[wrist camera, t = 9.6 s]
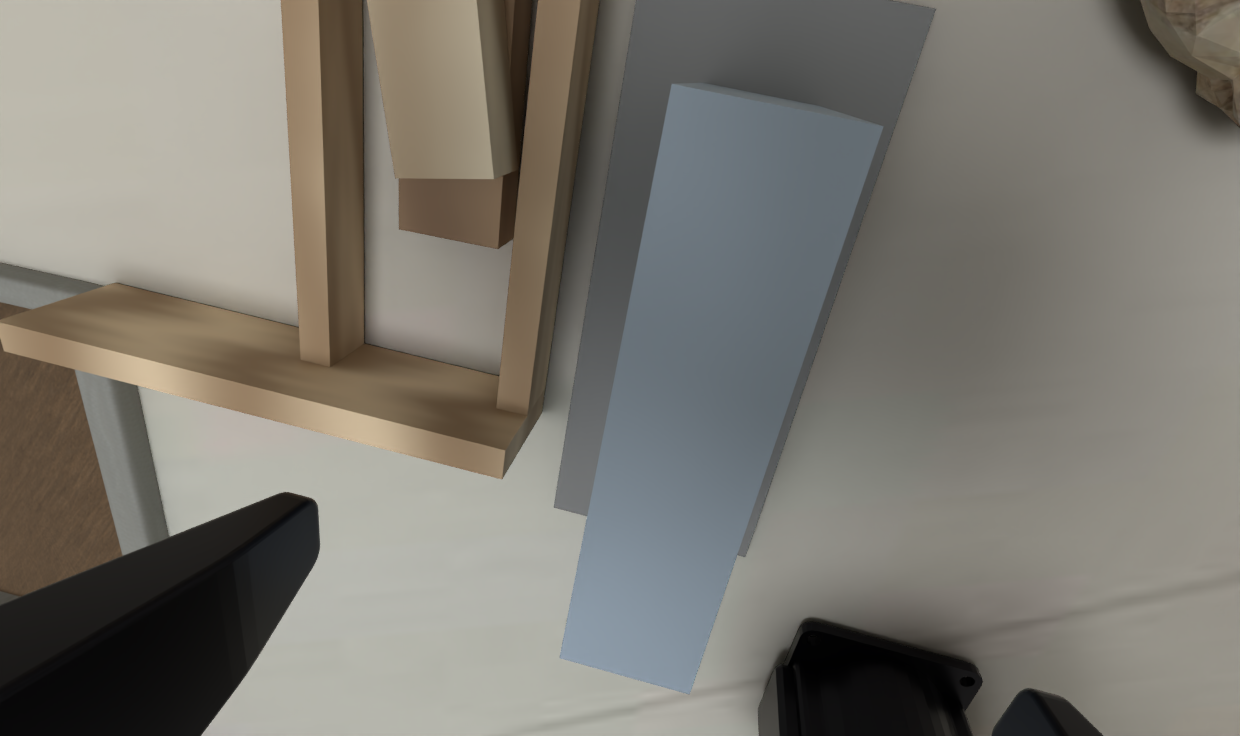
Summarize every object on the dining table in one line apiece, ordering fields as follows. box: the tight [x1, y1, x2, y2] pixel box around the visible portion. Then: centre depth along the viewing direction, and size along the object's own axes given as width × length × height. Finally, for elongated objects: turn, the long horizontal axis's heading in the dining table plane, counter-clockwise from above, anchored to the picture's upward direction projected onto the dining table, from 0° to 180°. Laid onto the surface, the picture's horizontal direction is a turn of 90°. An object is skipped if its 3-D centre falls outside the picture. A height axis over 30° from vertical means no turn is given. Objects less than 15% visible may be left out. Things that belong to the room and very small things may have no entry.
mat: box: [554, 0, 936, 557], centre depth 19 cm, size 7×17×1 cm, turn 170°
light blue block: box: [560, 83, 884, 694], centre depth 15 cm, size 3×12×8 cm, turn 169°
